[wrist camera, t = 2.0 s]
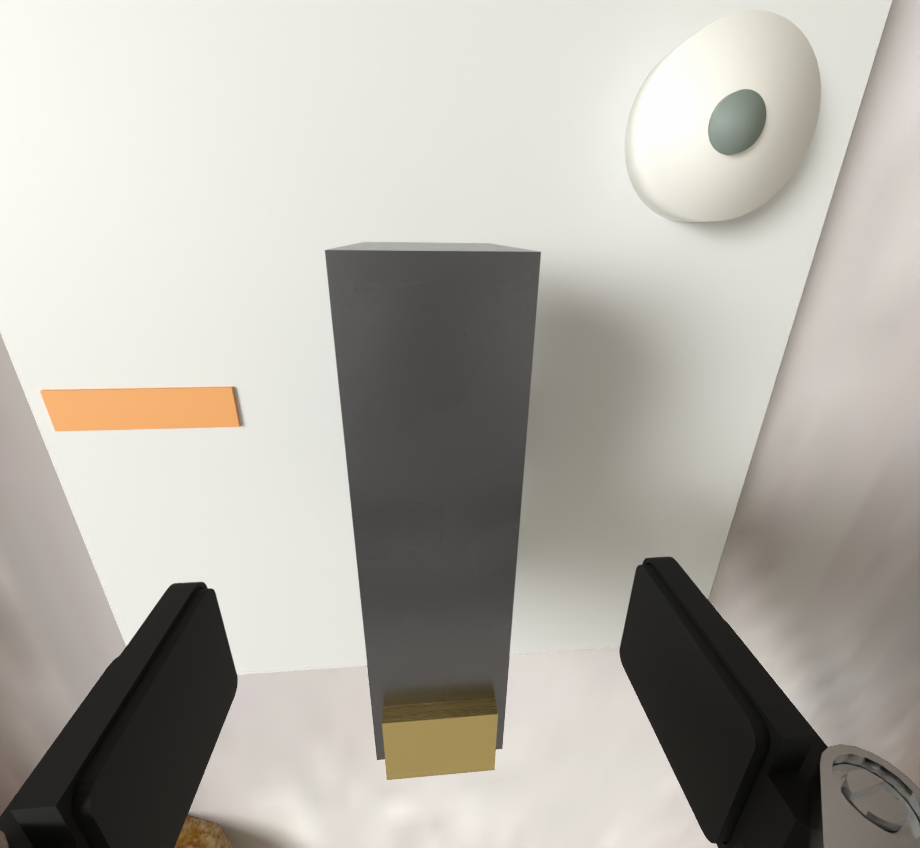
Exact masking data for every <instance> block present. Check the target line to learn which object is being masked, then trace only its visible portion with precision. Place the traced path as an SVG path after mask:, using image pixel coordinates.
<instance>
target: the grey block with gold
mask: <svg viewBox="0 0 920 848" xmlns="http://www.w3.org/2000/svg"><path fill="white" fill-rule="evenodd" d="M325 258H326V267H327V277H328V287H329V297H330V306H331V316H332V326H333V336H334V345H335V355H336V365H337V374H338V384H339V394H340V404H341V413H342V423H343V433H344V443H345V452H346V462H347V472H348V482H349V491H350V501H351V511H352V521H353V530H354V540H355V550H356V560H357V569H358V579H359V589H360V599H361V608H362V618H363V628H364V638H365V647H366V657H367V667H368V677H369V686H370V696H371V706H372V716H373V725H374V735H375V745H376V755H377V760H381V759H385V763H386V774H387V780H392V779H402V778H413V777H424V776H434V775H445V774H456V773H467V772H477V771H488V770H494V766H495V751H496V749H502V744H503V732H504V719H505V706H506V693H507V681H508V668H509V655H510V642H511V629H512V617H513V604H514V591H515V578H516V566H517V553H518V540H519V527H520V515H521V502H522V489H523V476H524V463H525V451H526V438H527V425H528V412H529V400H530V387H531V374H532V361H533V349H534V336H535V323H536V310H537V297H538V285H539V272H540V259H541V252H540V251H533V250H527V249H521V248H515V247H509V246H503V245H497V244H491V243H427V242H361V243H356V244H351V245H347V246H342V247H337V248H332V249H327V250H325Z"/></svg>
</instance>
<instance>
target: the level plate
mask: <svg viewBox="0 0 920 848" xmlns="http://www.w3.org/2000/svg"><path fill="white" fill-rule="evenodd" d="M891 3H892V0H0V333H1V335H2V338H3V340H4V343H5V345H6V348H7V350H8V353H9V355H10V358H11V360H12V363H13V365H14V368H15V370H16V373H17V375H18V378H19V380H20V383H21V385H22V388H23V390H24V393H25V395H26V398H27V400H28V403H29V405H30V408H31V410H32V413H33V415H34V418H35V420H36V423H37V425H38V428H39V430H40V433H41V435H42V438H43V440H44V442H45V445H46V447H47V450H48V452H49V455H50V457H51V460H52V462H53V465H54V467H55V470H56V472H57V475H58V477H59V480H60V482H61V485H62V487H63V490H64V492H65V495H66V497H67V500H68V502H69V505H70V507H71V510H72V512H73V515H74V517H75V520H76V522H77V525H78V527H79V530H80V532H81V535H82V537H83V540H84V542H85V545H86V547H87V550H88V552H89V555H90V557H91V560H92V562H93V565H94V567H95V570H96V572H97V575H98V577H99V580H100V582H101V585H102V587H103V589H104V592H105V594H106V597H107V599H108V602H109V604H110V607H111V609H112V612H113V614H114V617H115V619H116V622H117V624H118V627H119V629H120V632H121V634H122V637H123V639H124V642H125V644H126V646H127V645H128V644H129V642H130V641H131V639H132V638H133V636H134V635H135V634H136V632H137V631H138V629H139V628H140V627H141V625H142V624H143V622H144V621H145V620H146V618H147V617H148V615H149V614H150V613H151V611H152V610H153V608H154V607H155V605H156V604H157V603H158V601H159V600H160V598H161V597H162V596H163V594H164V593H165V591H166V590H167V589H168V588H169V586H170V585H172V584H174V583H187V582H204V583H205V584H206V585H207V588H208V589H209V588H212V589H214V590H215V593H216V596H217V600H218V604H219V608H220V612H221V616H222V619H223V623H224V627H225V631H226V635H227V638H228V642H229V646H230V650H231V654H232V658H233V661H234V665H235V669H236V673H237V675H241V674H255V673H269V672H283V671H297V670H311V669H325V668H339V667H353V666H367V657H366V647H365V638H364V628H363V618H362V608H361V599H360V589H359V579H358V569H357V560H356V550H355V540H354V530H353V521H352V511H351V501H350V491H349V482H348V472H347V462H346V452H345V443H344V433H343V423H342V413H341V404H340V394H339V384H338V374H337V365H336V355H335V345H334V336H333V326H332V316H331V306H330V297H329V287H328V277H327V267H326V258H325V250H327V249H332V248H337V247H342V246H347V245H351V244H356V243H361V242H427V243H491V244H497V245H503V246H509V247H515V248H521V249H527V250H533V251H540V252H541V259H540V272H539V285H538V297H537V310H536V323H535V336H534V349H533V361H532V374H531V387H530V400H529V412H528V425H527V438H526V451H525V463H524V476H523V489H522V502H521V515H520V527H519V540H518V553H517V566H516V578H515V591H514V604H513V617H512V629H511V642H510V655H522V654H536V653H550V652H564V651H578V650H592V649H606V648H620V644H621V640H622V635H623V630H624V625H625V620H626V615H627V610H628V605H629V601H630V596H631V591H632V586H633V581H634V576H635V571H636V568H637V566H638V565H642V563H643V561H644V559H645V558H652V557H673V558H674V559H675V560H676V561H677V562H678V563H679V565H680V566H681V567H682V568H683V569H684V571H685V572H686V573H687V574H688V576H689V577H690V578H691V579H692V581H693V582H694V583H695V584H696V586H697V587H698V588H699V589H700V591H701V592H702V593H703V594H704V596H705V597H706V598H707V599H708V598H709V595H710V592H711V588H712V585H713V582H714V579H715V575H716V572H717V569H718V566H719V562H720V559H721V556H722V553H723V549H724V546H725V543H726V540H727V536H728V533H729V530H730V527H731V523H732V520H733V517H734V514H735V510H736V507H737V504H738V501H739V497H740V494H741V491H742V488H743V484H744V481H745V478H746V475H747V471H748V468H749V465H750V462H751V458H752V455H753V452H754V449H755V445H756V442H757V439H758V435H759V432H760V429H761V426H762V422H763V419H764V416H765V413H766V409H767V406H768V403H769V400H770V396H771V393H772V390H773V387H774V383H775V380H776V377H777V374H778V370H779V367H780V364H781V361H782V357H783V354H784V351H785V348H786V344H787V341H788V338H789V335H790V331H791V328H792V325H793V322H794V318H795V315H796V312H797V309H798V305H799V302H800V299H801V296H802V292H803V289H804V286H805V283H806V279H807V276H808V273H809V270H810V266H811V263H812V260H813V257H814V253H815V250H816V247H817V244H818V240H819V237H820V234H821V231H822V227H823V224H824V221H825V218H826V214H827V211H828V208H829V205H830V201H831V198H832V195H833V192H834V188H835V185H836V182H837V179H838V175H839V172H840V169H841V166H842V162H843V159H844V156H845V153H846V149H847V146H848V143H849V140H850V136H851V133H852V130H853V127H854V123H855V120H856V117H857V114H858V110H859V107H860V104H861V101H862V97H863V94H864V91H865V88H866V84H867V81H868V78H869V75H870V71H871V68H872V65H873V62H874V58H875V55H876V52H877V49H878V45H879V42H880V39H881V36H882V32H883V29H884V26H885V23H886V19H887V16H888V13H889V10H890V6H891Z"/></svg>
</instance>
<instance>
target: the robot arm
mask: <svg viewBox="0 0 920 848" xmlns="http://www.w3.org/2000/svg"><path fill="white" fill-rule="evenodd" d="M620 658H621V662H622V665H623V667H624V669H625V671H626V673H627V676H628V678H629V680H630V682H631V684H632V686H633V688H634V690H635V692H636V694H637V696H638V698H639V700H640V703H641V705H642V707H643V709H644V711H645V713H646V715H647V717H648V719H649V721H650V723H651V725H652V727H653V730H654V732H655V734H656V736H657V738H658V740H659V742H660V744H661V746H662V748H663V750H664V752H665V754H666V757H667V759H668V761H669V763H670V765H671V767H672V769H673V771H674V773H675V775H676V777H677V779H678V781H679V784H680V786H681V788H682V790H683V792H684V794H685V796H686V798H687V800H688V802H689V804H690V806H691V808H692V811H693V813H694V815H695V817H696V819H697V821H698V823H699V825H700V827H701V829H702V831H703V833H704V835H705V836H706V838H707V839H708V840H709V841H710V842H711V843H716V844H717V846H718V848H920V788H919V787H918V786H917V785H916V784H915V783H914V782H913V781H912V780H911V779H910V778H909V777H908V776H906V775H905V774H904V773H902V772H901V771H900V770H899V769H897V768H896V767H895V766H893V765H892V764H891V763H889V762H888V761H886V760H884V759H882V758H881V757H879V756H877V755H875V754H874V753H872V752H869V751H866V750H864V749H861V748H858V747H856V746H850V745H843V744H839V745H834V746H829V747H827V746H826V744H825V743H824V742H823V741H822V739H821V738H820V737H819V736H818V734H817V733H816V732H815V731H814V729H813V728H812V727H811V726H810V725H809V723H808V722H807V721H806V720H805V718H804V717H803V716H802V715H801V713H800V712H799V711H798V710H797V708H796V707H795V706H794V705H793V703H792V702H791V701H790V700H789V698H788V697H787V696H786V695H785V694H784V692H783V691H782V690H781V689H780V687H779V686H778V685H777V684H776V682H775V681H774V680H773V679H772V677H771V676H770V675H769V674H768V672H767V671H766V670H765V669H764V668H763V666H762V665H761V664H760V663H759V661H758V660H757V659H756V658H755V656H754V655H753V654H752V653H751V651H750V650H749V649H748V648H747V646H746V645H745V644H744V643H743V641H742V640H741V639H740V638H739V637H738V635H737V634H736V633H735V632H734V630H733V629H732V628H731V627H730V625H729V624H728V623H727V622H726V621H725V620H724V619H723V618H722V617H721V616H720V614H719V613H718V612H717V611H716V609H715V608H714V607H713V606H712V604H711V603H710V602H709V601H708V599H707V598H706V597H705V596H704V594H703V593H702V592H701V591H700V589H699V588H698V587H697V586H696V584H695V583H694V582H693V581H692V579H691V578H690V577H689V576H688V574H687V573H686V572H685V571H684V569H683V568H682V567H681V566H680V565H679V563H678V562H677V561H676V560H675V559H674V558H673V557H652V558H645V559H644V561H643V563H642V565H638V566H637V568H636V571H635V576H634V581H633V586H632V591H631V596H630V601H629V605H628V610H627V615H626V620H625V625H624V630H623V635H622V640H621V644H620ZM236 689H237V673H236V669H235V665H234V661H233V658H232V654H231V650H230V646H229V642H228V638H227V635H226V631H225V627H224V623H223V619H222V616H221V612H220V608H219V604H218V600H217V596H216V593H215V590H214V589H212V588H209V589H208V588H207V585H206V584H205V583H204V582H187V583H174V584H172V585H170V586H169V588H168V589H167V590H166V591H165V593H164V594H163V596H162V597H161V598H160V600H159V601H158V603H157V604H156V605H155V607H154V608H153V610H152V611H151V613H150V614H149V615H148V617H147V618H146V620H145V621H144V622H143V624H142V625H141V627H140V628H139V629H138V631H137V632H136V634H135V635H134V636H133V638H132V639H131V641H130V642H129V644H128V645H127V646H126V648H125V649H124V651H123V652H122V653H121V655H120V656H119V657H117V658H116V659H115V660H114V661H113V662H112V663H111V664H110V665H109V666H108V668H107V669H106V670H105V672H104V673H103V674H102V676H101V677H100V679H99V680H98V681H97V683H96V684H95V686H94V687H93V688H92V690H91V691H90V693H89V694H88V695H87V697H86V698H85V700H84V701H83V702H82V704H81V705H80V706H79V708H78V709H77V711H76V712H75V713H74V715H73V716H72V718H71V719H70V720H69V722H68V723H67V725H66V726H65V727H64V729H63V730H62V732H61V733H60V734H59V736H58V737H57V738H56V740H55V741H54V743H53V744H52V745H51V747H50V748H49V750H48V751H47V752H46V754H45V755H44V757H43V758H42V759H41V761H40V762H39V763H38V765H37V766H36V768H35V769H34V770H33V772H32V773H31V775H30V776H29V777H28V779H27V780H26V782H25V783H24V784H23V786H22V787H21V789H20V790H19V791H18V793H17V794H16V795H15V797H14V798H13V800H12V801H11V802H10V804H9V805H8V807H7V808H6V809H5V811H4V812H3V814H2V815H1V816H0V848H174V847H175V845H176V842H177V840H178V837H179V835H180V832H181V830H182V827H183V825H184V822H185V820H186V817H187V815H188V812H189V810H190V807H191V804H192V802H193V799H194V797H195V794H196V792H197V789H198V787H199V784H200V782H201V779H202V777H203V774H204V772H205V769H206V767H207V764H208V762H209V759H210V757H211V754H212V752H213V749H214V747H215V744H216V742H217V739H218V736H219V734H220V731H221V729H222V726H223V724H224V721H225V719H226V716H227V714H228V711H229V709H230V706H231V704H232V701H233V699H234V696H235V693H236Z"/></svg>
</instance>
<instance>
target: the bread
mask: <svg viewBox="0 0 920 848" xmlns="http://www.w3.org/2000/svg"><path fill="white" fill-rule="evenodd" d="M174 848H234V846H233V845H232V843H231V842H230V840H229V839H228V837H227V836H226V834H225V833H224V831H223V830H222V829H221V827H220V826H219V825H218V824H215V823H212V822H208V821H205V820H202V819H198V818H195V817H192V816H188V815H187V817H186V820H185V822H184V825H183V827H182V830H181V832H180V835H179V837H178V840H177V842H176V845H175V847H174Z"/></svg>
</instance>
